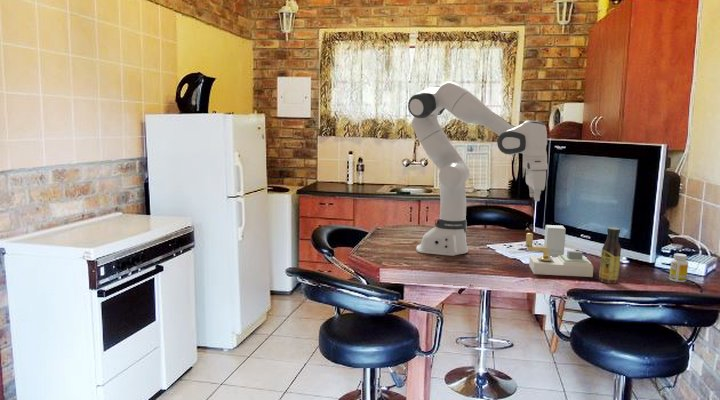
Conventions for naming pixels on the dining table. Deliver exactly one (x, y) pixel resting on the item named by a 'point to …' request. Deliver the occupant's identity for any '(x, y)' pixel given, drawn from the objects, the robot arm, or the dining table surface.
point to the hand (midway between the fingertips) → (534, 198)
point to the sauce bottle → (610, 257)
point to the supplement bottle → (679, 268)
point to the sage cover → (574, 257)
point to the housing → (560, 267)
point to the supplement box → (555, 239)
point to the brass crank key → (537, 248)
